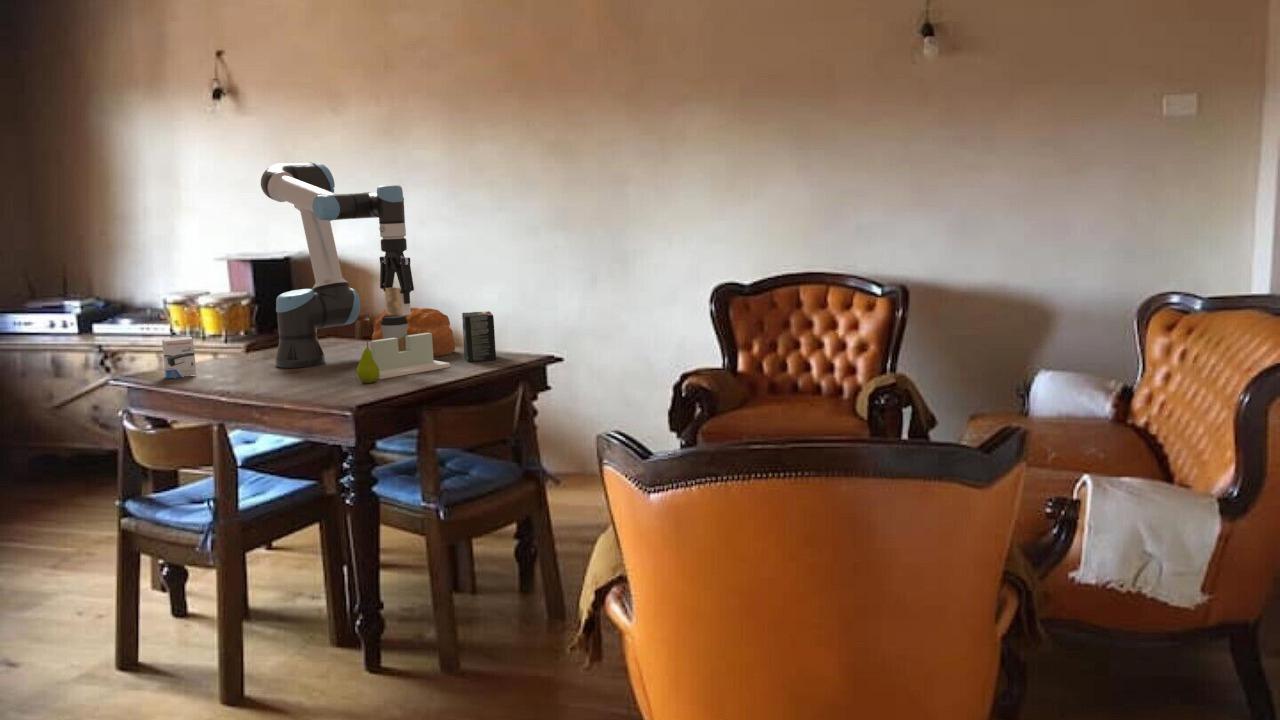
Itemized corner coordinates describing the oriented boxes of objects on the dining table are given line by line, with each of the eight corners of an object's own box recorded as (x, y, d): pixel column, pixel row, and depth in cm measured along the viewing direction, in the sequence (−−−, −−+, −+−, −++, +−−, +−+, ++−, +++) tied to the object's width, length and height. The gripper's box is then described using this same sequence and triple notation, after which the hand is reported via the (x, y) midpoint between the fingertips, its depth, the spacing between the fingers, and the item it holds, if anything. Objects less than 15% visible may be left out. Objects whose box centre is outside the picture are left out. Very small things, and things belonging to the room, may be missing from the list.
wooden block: (387, 314, 333) (385, 287, 332) (396, 313, 335) (394, 287, 334) (401, 316, 328) (399, 289, 326) (410, 314, 330) (408, 288, 328)
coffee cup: (404, 366, 342) (400, 318, 339) (379, 365, 344) (375, 318, 341) (414, 361, 350) (411, 314, 347) (390, 361, 352) (386, 314, 349)
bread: (389, 349, 376) (386, 304, 374) (459, 351, 368) (457, 305, 366) (368, 356, 363) (364, 309, 361) (440, 358, 355) (437, 310, 353)
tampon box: (496, 360, 348) (494, 314, 345) (467, 362, 346) (464, 316, 343) (492, 355, 358) (490, 310, 356) (464, 357, 356) (461, 312, 353)
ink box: (166, 379, 331) (162, 340, 329) (165, 377, 335) (161, 338, 333) (197, 376, 335) (193, 338, 333) (195, 373, 339) (191, 336, 337)
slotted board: (356, 373, 332) (354, 340, 330) (424, 362, 348) (422, 330, 346) (381, 378, 322) (378, 344, 320) (449, 367, 338) (447, 334, 336)
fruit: (359, 385, 313) (356, 343, 311) (356, 382, 318) (352, 341, 316) (382, 383, 315) (379, 341, 313) (378, 379, 321) (375, 339, 319)
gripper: (364, 237, 333) (370, 312, 336) (400, 239, 318) (406, 317, 321) (386, 236, 338) (391, 309, 342) (423, 237, 323) (428, 314, 326)
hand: (398, 313), depth 331 cm, fingers closed on wooden block, 8 cm apart
